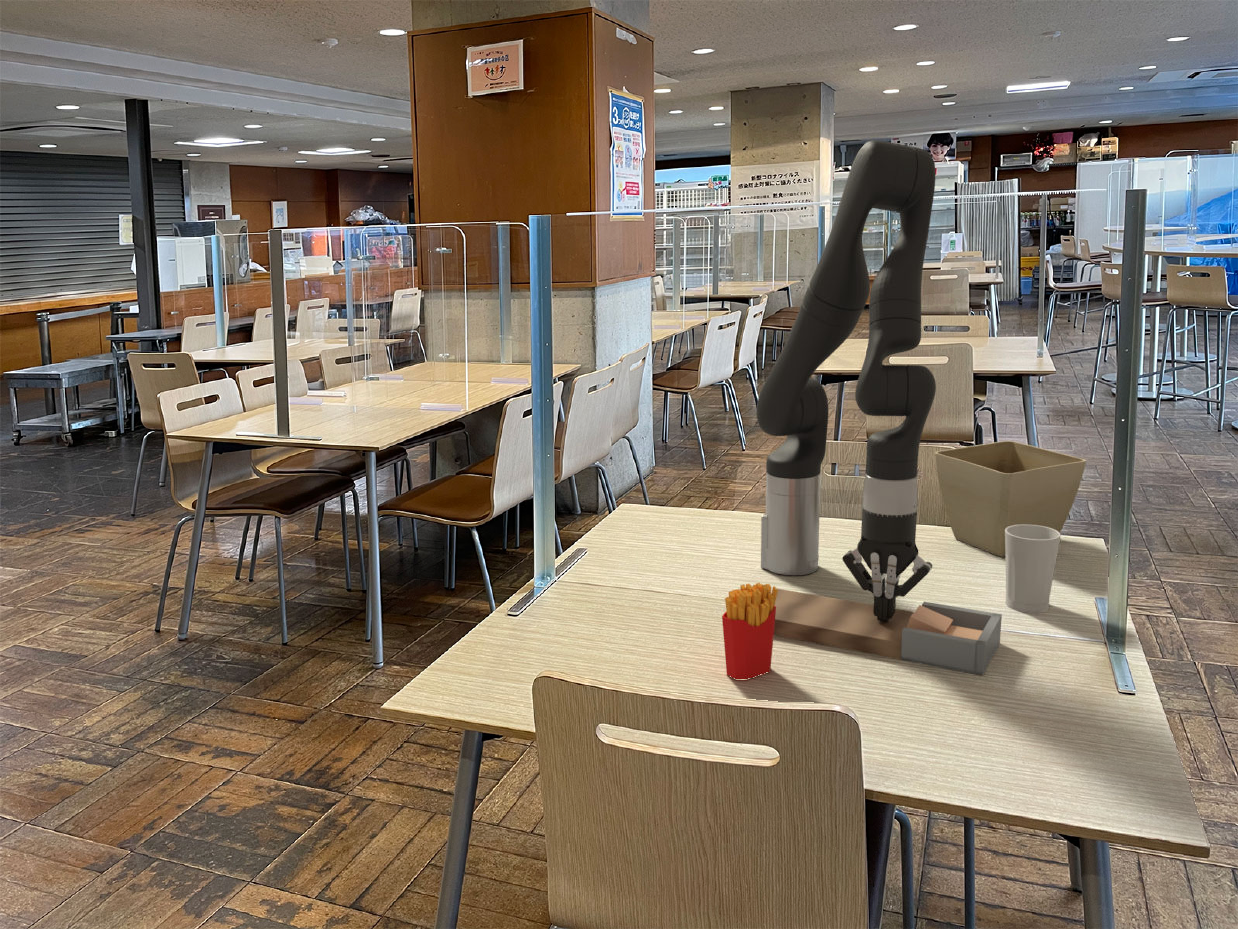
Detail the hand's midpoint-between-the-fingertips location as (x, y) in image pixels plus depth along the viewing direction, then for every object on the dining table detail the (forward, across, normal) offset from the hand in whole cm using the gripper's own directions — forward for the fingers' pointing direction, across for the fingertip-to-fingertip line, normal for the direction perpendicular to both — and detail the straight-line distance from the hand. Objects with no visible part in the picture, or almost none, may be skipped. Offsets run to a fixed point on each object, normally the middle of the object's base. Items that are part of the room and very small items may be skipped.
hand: (884, 619), depth 148 cm
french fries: (+3, -13, -19) cm, 24 cm away
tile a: (+1, +6, 0) cm, 6 cm away
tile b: (+2, +12, -1) cm, 12 cm away
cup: (+3, +17, +22) cm, 28 cm away
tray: (+3, +10, -1) cm, 10 cm away
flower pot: (+3, +8, +52) cm, 53 cm away
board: (+3, -7, 0) cm, 8 cm away
